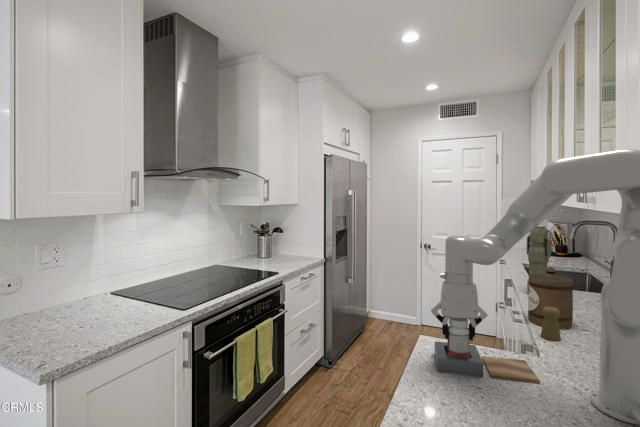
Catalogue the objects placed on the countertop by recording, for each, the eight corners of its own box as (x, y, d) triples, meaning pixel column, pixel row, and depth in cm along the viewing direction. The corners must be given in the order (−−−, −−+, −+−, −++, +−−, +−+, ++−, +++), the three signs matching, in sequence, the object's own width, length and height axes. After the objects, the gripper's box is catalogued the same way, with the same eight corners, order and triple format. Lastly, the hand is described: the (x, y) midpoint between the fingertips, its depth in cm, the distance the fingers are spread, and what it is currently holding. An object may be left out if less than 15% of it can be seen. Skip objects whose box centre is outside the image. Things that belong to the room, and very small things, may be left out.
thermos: (545, 299, 170) (547, 228, 168) (520, 293, 180) (522, 226, 178) (554, 296, 174) (556, 227, 173) (530, 291, 184) (532, 225, 183)
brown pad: (539, 383, 92) (539, 380, 92) (491, 378, 95) (491, 375, 95) (524, 362, 104) (525, 360, 104) (481, 358, 107) (481, 356, 107)
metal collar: (483, 377, 96) (483, 363, 96) (437, 371, 99) (437, 358, 99) (474, 357, 107) (475, 345, 107) (434, 353, 110) (434, 341, 110)
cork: (564, 342, 119) (565, 310, 119) (544, 340, 120) (545, 309, 120) (556, 335, 125) (556, 305, 124) (537, 334, 126) (538, 304, 126)
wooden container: (529, 313, 148) (530, 263, 147) (571, 320, 140) (573, 266, 139) (526, 324, 136) (528, 268, 135) (573, 332, 128) (575, 273, 127)
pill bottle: (452, 349, 107) (452, 313, 107) (472, 355, 103) (472, 318, 103) (443, 356, 103) (443, 318, 102) (464, 363, 98) (465, 323, 98)
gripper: (429, 279, 100) (428, 340, 101) (493, 282, 96) (493, 345, 97) (427, 274, 108) (427, 330, 108) (487, 276, 103) (487, 335, 104)
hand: (458, 337), depth 103 cm, fingers closed on pill bottle, 6 cm apart
